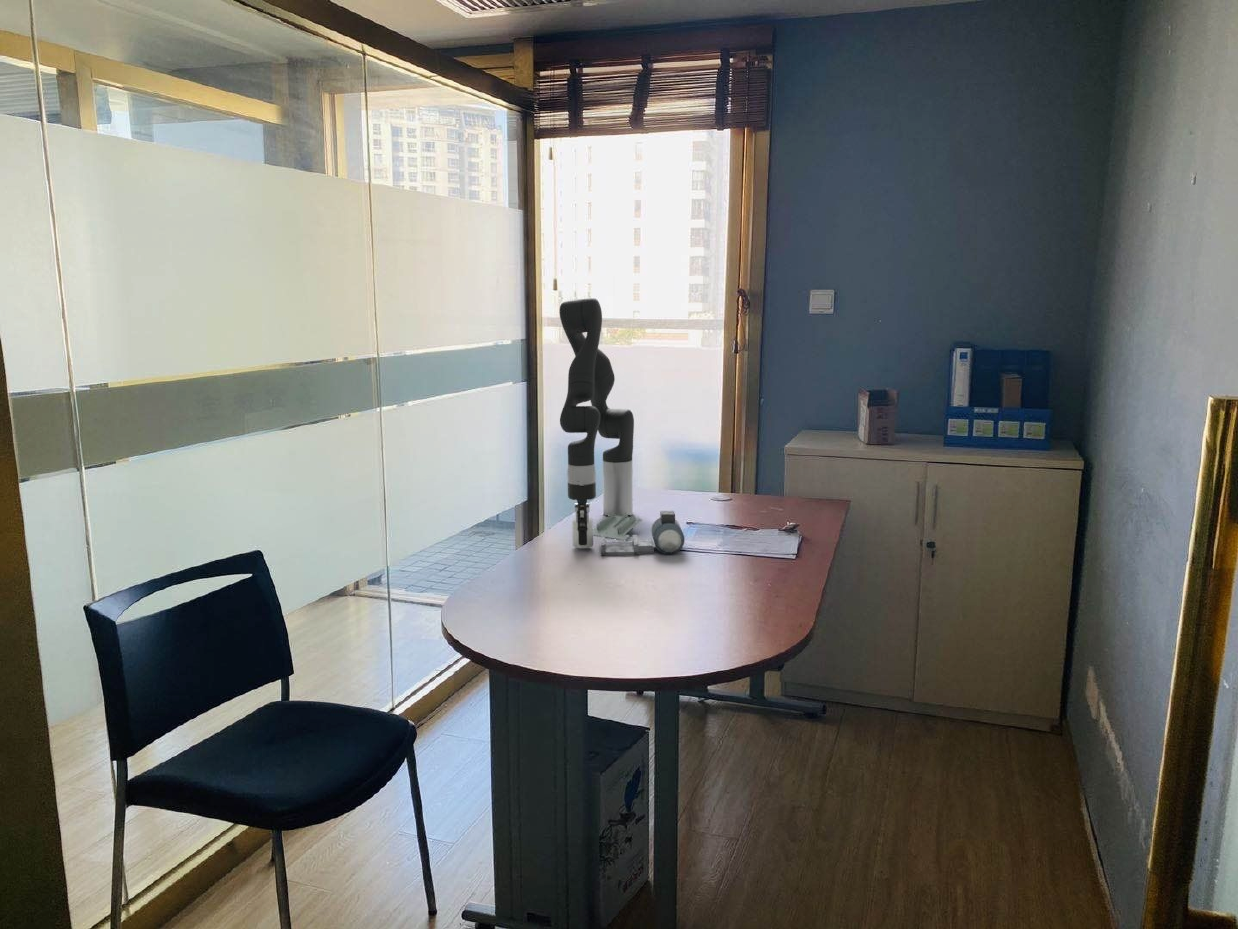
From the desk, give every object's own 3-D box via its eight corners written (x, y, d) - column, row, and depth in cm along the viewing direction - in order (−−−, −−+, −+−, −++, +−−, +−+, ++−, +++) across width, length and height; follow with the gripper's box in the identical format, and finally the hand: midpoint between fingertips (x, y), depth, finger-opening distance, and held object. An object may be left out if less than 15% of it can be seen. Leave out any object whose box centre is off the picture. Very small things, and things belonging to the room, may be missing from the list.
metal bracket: (606, 507, 266) (648, 513, 257) (609, 524, 268) (651, 530, 259) (578, 530, 255) (621, 537, 247) (582, 547, 258) (624, 555, 249)
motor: (600, 545, 244) (600, 509, 242) (680, 544, 244) (680, 508, 242) (601, 557, 233) (600, 519, 231) (684, 555, 233) (685, 517, 232)
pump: (572, 542, 243) (572, 511, 242) (593, 542, 243) (592, 511, 242) (572, 548, 238) (571, 516, 236) (593, 548, 238) (592, 516, 236)
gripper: (568, 475, 244) (569, 535, 247) (566, 486, 230) (568, 549, 233) (595, 474, 244) (596, 534, 247) (595, 485, 230) (597, 548, 233)
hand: (582, 541), depth 240 cm, fingers closed on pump, 5 cm apart
